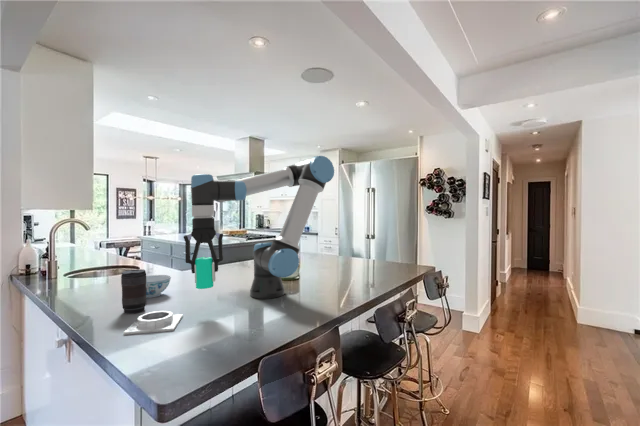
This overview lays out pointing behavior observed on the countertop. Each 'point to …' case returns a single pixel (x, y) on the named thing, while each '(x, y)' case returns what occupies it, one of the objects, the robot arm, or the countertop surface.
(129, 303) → the camera lens
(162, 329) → the duct flange
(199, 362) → the countertop surface
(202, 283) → the candle
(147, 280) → the chinaware
